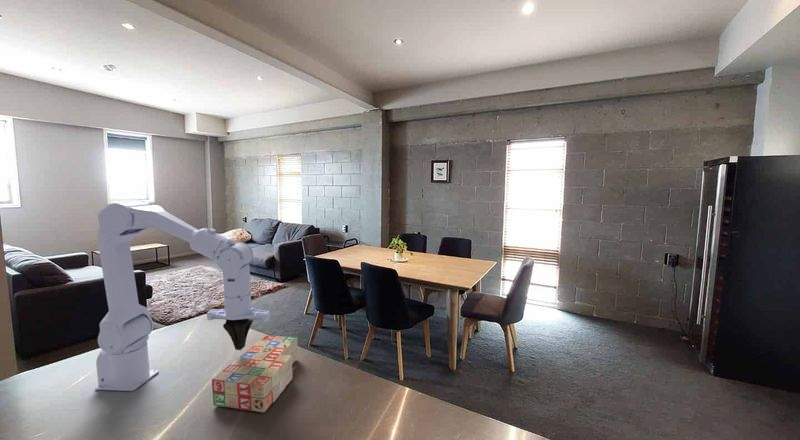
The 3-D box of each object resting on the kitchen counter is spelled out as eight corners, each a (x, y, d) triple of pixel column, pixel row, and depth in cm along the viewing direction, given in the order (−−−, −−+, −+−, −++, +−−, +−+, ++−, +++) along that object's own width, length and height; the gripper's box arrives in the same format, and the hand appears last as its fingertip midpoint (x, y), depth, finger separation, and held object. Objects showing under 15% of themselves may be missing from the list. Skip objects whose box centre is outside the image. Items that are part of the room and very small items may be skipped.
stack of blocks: (266, 334, 90) (308, 337, 89) (267, 355, 91) (308, 359, 89) (211, 379, 69) (264, 385, 68) (212, 406, 70) (265, 413, 68)
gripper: (274, 289, 81) (276, 340, 83) (218, 288, 82) (221, 339, 84) (261, 299, 74) (263, 355, 76) (199, 297, 75) (203, 353, 77)
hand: (240, 347), depth 79 cm, fingers closed
